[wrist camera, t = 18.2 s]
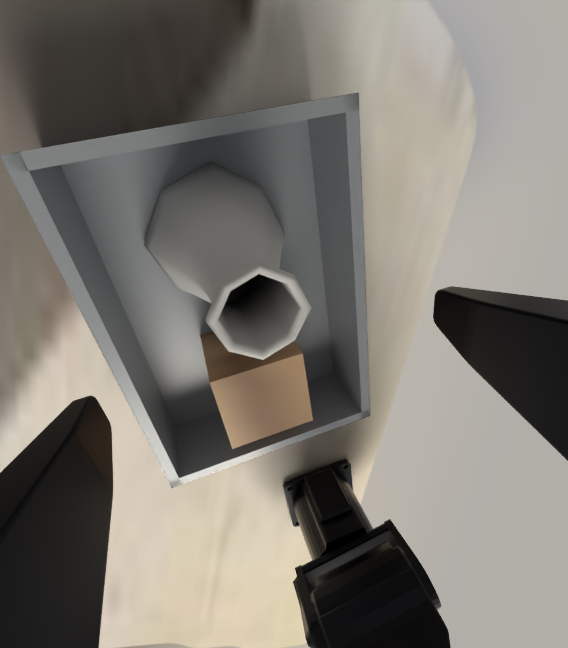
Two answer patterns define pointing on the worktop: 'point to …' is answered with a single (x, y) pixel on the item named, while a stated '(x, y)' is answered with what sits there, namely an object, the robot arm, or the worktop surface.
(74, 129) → the worktop surface
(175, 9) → the worktop surface
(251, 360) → the walnut cube
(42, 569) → the robot arm
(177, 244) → the flask
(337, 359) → the tote
